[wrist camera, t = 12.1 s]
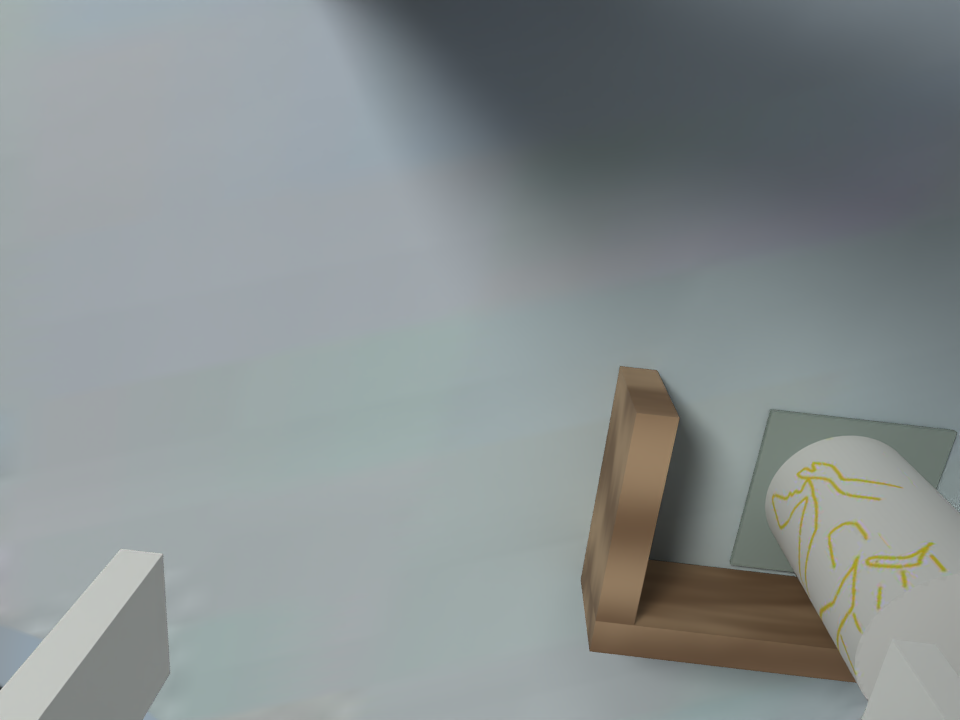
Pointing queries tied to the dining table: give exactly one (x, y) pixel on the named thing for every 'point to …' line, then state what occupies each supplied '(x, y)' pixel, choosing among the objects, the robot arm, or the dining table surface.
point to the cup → (869, 549)
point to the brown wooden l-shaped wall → (682, 567)
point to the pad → (800, 430)
